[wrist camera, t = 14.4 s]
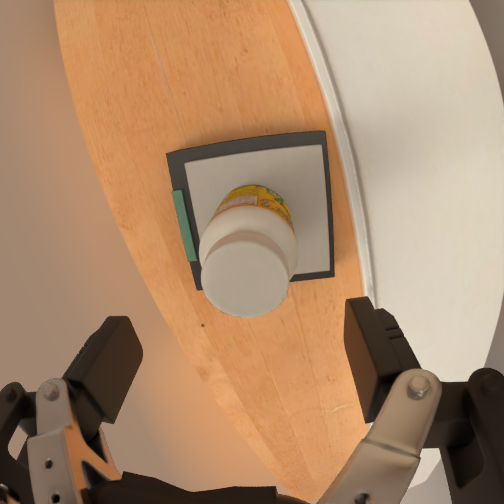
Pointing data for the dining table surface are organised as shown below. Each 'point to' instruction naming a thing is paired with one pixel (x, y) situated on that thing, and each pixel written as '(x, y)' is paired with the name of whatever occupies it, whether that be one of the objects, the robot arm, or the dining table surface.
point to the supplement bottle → (248, 252)
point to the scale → (266, 173)
